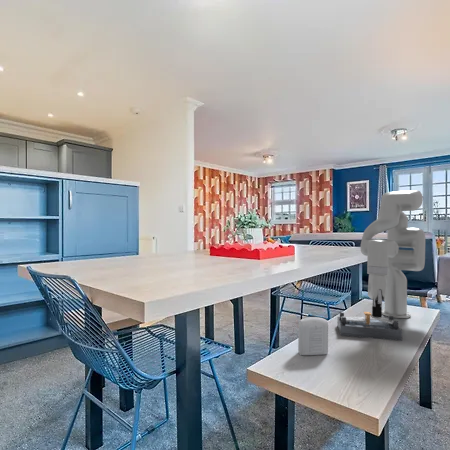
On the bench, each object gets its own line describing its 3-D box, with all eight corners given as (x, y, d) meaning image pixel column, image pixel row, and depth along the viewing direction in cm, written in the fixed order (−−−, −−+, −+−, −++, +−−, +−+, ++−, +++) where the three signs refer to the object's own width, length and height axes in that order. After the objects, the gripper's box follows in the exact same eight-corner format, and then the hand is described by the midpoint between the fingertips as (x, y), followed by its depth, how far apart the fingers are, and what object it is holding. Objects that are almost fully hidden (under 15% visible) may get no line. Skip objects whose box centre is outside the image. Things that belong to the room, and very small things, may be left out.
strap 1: (341, 322, 127) (341, 319, 127) (340, 318, 132) (340, 315, 132) (366, 322, 125) (366, 319, 125) (363, 319, 130) (363, 316, 130)
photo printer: (324, 350, 110) (324, 315, 110) (330, 355, 106) (330, 318, 106) (296, 351, 109) (296, 316, 108) (301, 356, 104) (301, 320, 104)
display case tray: (337, 325, 135) (337, 307, 135) (393, 330, 130) (393, 310, 130) (340, 335, 124) (340, 315, 124) (401, 340, 118) (402, 319, 118)
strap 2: (392, 322, 127) (393, 319, 127) (396, 326, 122) (397, 323, 122) (369, 314, 129) (370, 312, 129) (371, 318, 124) (372, 315, 124)
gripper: (364, 268, 134) (363, 311, 133) (371, 272, 119) (370, 320, 119) (383, 269, 132) (382, 312, 131) (392, 273, 117) (392, 322, 117)
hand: (376, 316), depth 125 cm, fingers closed
